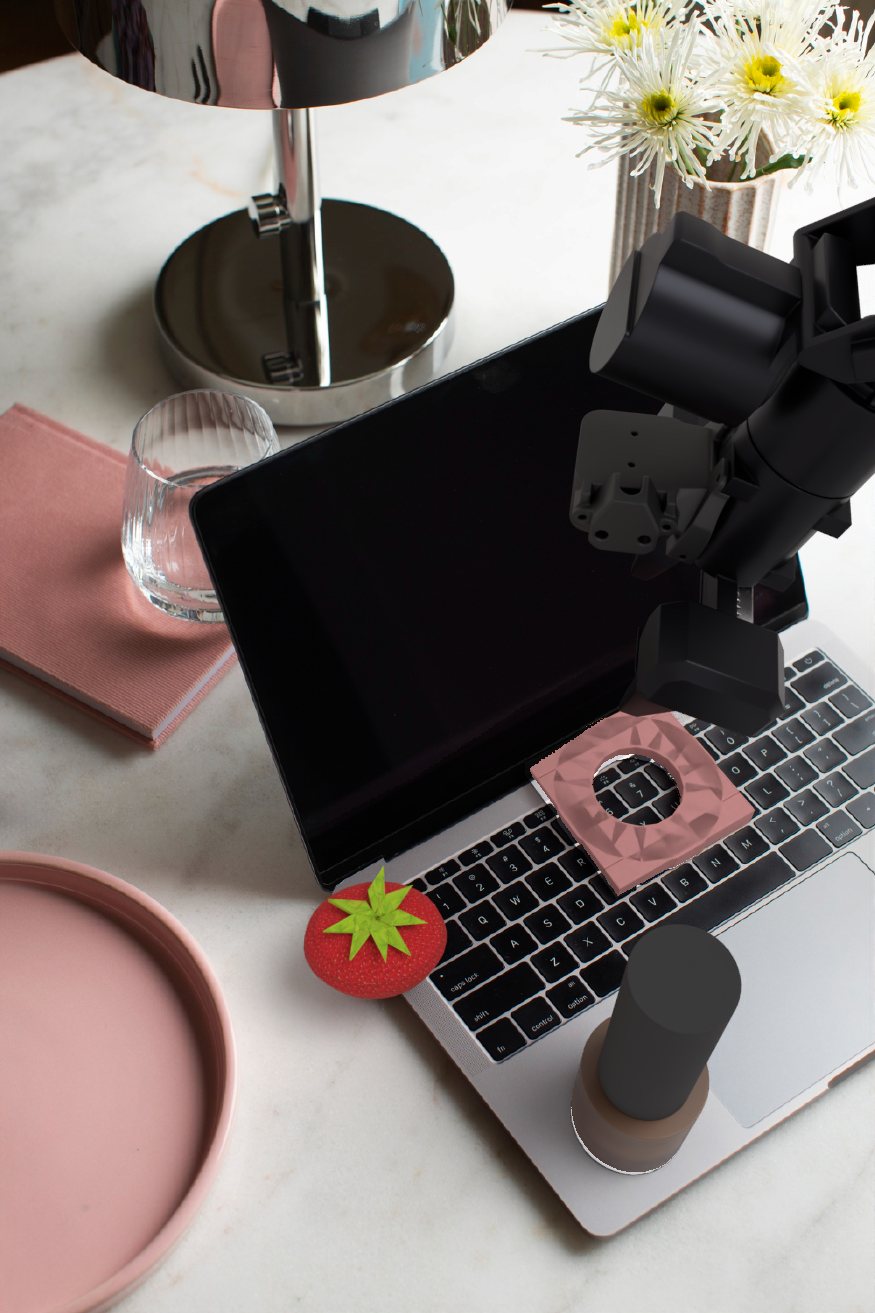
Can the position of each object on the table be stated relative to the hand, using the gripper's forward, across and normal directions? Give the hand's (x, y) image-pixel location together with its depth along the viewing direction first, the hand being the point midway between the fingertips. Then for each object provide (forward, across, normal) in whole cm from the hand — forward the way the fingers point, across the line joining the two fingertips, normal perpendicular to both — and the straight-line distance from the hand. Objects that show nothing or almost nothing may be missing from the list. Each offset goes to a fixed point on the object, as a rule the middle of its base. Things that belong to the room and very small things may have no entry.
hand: (633, 640), depth 60 cm
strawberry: (+17, +15, -6) cm, 24 cm away
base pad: (+12, +2, +7) cm, 14 cm away
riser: (+12, +20, +7) cm, 25 cm away
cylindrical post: (+5, +20, +5) cm, 22 cm away
